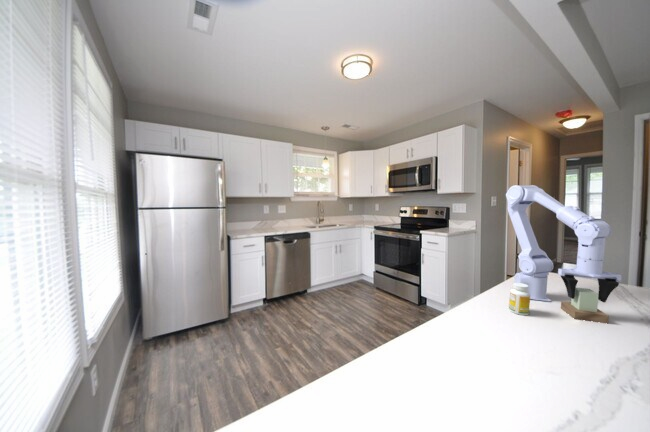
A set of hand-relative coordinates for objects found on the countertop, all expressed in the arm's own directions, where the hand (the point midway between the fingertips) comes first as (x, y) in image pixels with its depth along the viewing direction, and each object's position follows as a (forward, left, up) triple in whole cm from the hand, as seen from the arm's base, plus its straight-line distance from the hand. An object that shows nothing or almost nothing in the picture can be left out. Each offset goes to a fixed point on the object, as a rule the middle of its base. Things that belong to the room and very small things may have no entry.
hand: (586, 299), depth 79 cm
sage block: (0, 0, -3) cm, 3 cm away
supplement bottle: (-19, -4, -6) cm, 20 cm away
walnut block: (0, 0, -6) cm, 6 cm away
